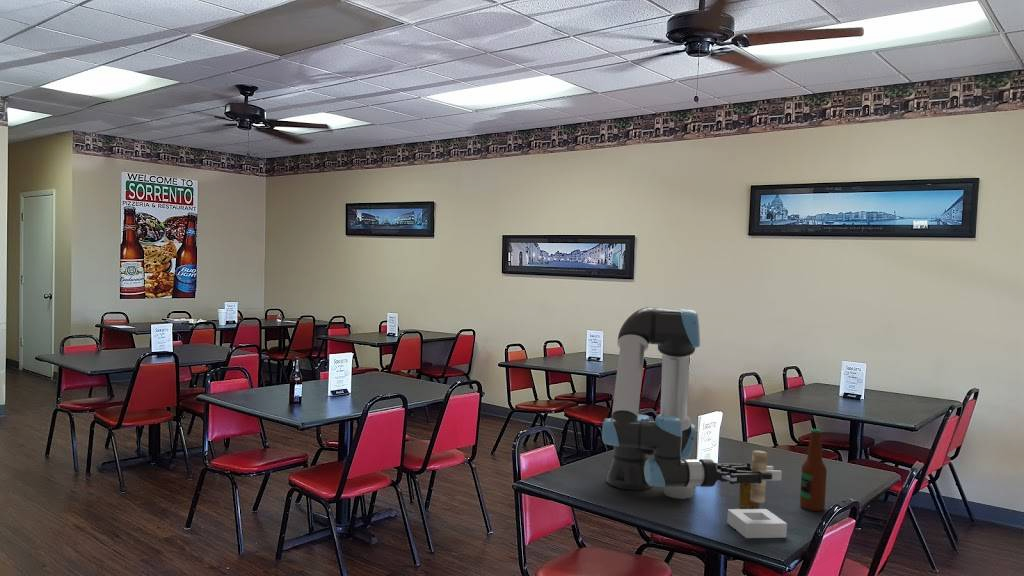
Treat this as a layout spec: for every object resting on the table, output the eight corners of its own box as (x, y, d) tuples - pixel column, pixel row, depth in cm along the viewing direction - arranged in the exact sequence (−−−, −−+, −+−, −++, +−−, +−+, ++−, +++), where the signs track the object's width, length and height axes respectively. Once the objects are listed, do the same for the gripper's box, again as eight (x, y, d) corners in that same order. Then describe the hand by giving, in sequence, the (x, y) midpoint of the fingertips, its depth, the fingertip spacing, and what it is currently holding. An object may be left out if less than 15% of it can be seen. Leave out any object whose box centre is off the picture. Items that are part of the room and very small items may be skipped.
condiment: (743, 506, 229) (745, 468, 229) (769, 513, 223) (771, 474, 223) (732, 511, 224) (734, 472, 223) (759, 518, 218) (761, 479, 218)
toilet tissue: (678, 485, 248) (679, 461, 248) (697, 498, 235) (699, 472, 235) (654, 486, 246) (655, 461, 245) (672, 499, 233) (673, 473, 233)
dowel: (747, 498, 209) (750, 450, 209) (760, 498, 210) (763, 450, 209) (754, 503, 205) (756, 454, 205) (767, 503, 206) (769, 454, 205)
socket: (727, 522, 213) (727, 509, 213) (765, 522, 215) (766, 508, 215) (745, 538, 201) (746, 523, 201) (786, 537, 203) (787, 523, 203)
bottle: (803, 502, 235) (808, 426, 234) (827, 508, 230) (831, 430, 230) (796, 507, 229) (800, 429, 229) (820, 513, 225) (824, 433, 224)
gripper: (687, 477, 213) (761, 477, 216) (711, 495, 196) (791, 495, 200) (688, 452, 213) (763, 452, 216) (712, 468, 196) (793, 468, 199)
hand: (776, 473), depth 208 cm, fingers closed on dowel, 4 cm apart
